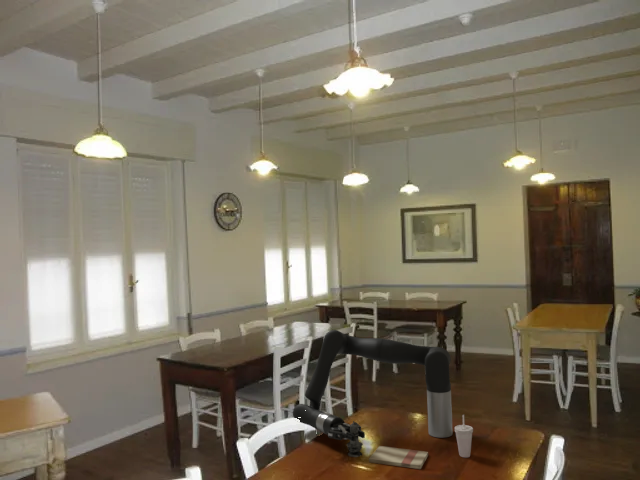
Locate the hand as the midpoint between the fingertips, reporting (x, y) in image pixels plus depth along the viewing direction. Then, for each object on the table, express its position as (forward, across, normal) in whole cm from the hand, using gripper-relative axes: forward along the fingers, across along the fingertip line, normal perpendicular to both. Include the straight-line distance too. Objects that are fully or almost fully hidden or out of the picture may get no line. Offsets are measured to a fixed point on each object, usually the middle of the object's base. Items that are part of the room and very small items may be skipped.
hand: (359, 436), depth 193 cm
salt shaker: (-3, 0, +7) cm, 8 cm away
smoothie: (+24, +28, +7) cm, 37 cm away
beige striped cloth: (+11, +9, +7) cm, 16 cm away
